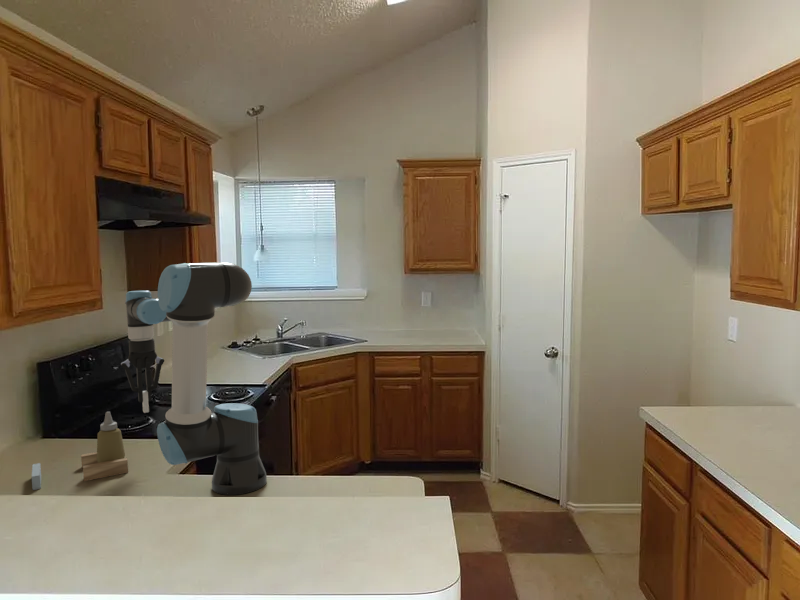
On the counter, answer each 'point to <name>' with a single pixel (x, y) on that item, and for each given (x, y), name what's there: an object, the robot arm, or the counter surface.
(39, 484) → the bar
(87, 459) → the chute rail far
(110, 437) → the squeeze bottle
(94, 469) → the bar
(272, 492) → the counter surface
